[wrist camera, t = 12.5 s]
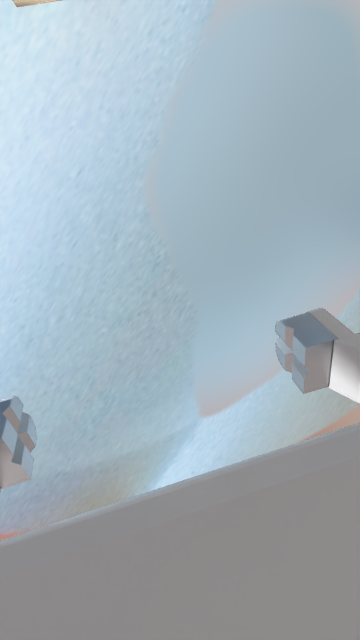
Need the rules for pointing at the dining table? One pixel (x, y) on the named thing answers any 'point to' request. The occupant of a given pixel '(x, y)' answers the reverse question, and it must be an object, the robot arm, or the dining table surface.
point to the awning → (30, 2)
